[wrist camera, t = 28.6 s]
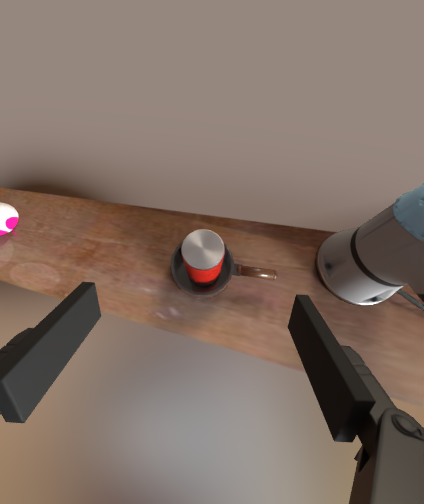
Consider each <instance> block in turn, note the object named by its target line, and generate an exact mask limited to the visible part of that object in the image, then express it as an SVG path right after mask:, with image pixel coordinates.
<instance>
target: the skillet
mask: <svg viewBox="0 0 424 504" xmlns="http://www.w3.org/2000/svg"><path fill="white" fill-rule="evenodd" d="M182 244H183V242H182V243H181V244H180V245H179V246H178V247H177V248H176V250H175V252H174V253H173V255H172V259H171V271H172V276H173V278H174V279H175V281H176V283H177V285H178V286H179V288H180V289H181V290H182V291H183V292H184V293H185V294H187V295H188V296H190V297H193V298H197V299H208V298H212V297H214V296H216V295H218V294H220V293H221V292H222V291H223V290H224V289H225V288H226V286H227V285H228V283H229V281H230V279H231V276H232V273H233V270H234V260H233V257H232V254H231V252H230V250H229V249H228V247H227V246H226V245H225V244H224V243H223V244H224V249H225V253H224V258H223V262H222V267H221V271H220V275H219V277H218V278H217V280H216V281H215V282H213V283H212V284H210V285H207V286H201V285H197V284H195V283H194V282H192V281H191V279H190V278H189V277H188V274H187V271H186V268H185V264H184V261H183V258H182V253H181V249H182Z"/></svg>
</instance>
